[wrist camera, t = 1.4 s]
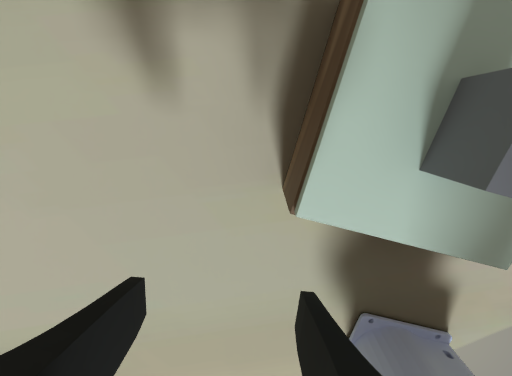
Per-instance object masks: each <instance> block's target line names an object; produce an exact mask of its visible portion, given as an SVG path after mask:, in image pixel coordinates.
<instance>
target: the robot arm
mask: <svg viewBox="0 0 512 376" xmlns="http://www.w3.org/2000/svg"><path fill="white" fill-rule="evenodd" d="M145 316H146V297H145V278H141V277H130V278H128V279H127V280H125V281H124V282H122V283H121V284H119V285H118V286H116V287H115V288H113V289H112V290H111V291H109V292H108V293H106V294H105V295H103V296H102V297H100V298H99V299H97V300H96V301H94V302H93V303H91V304H90V305H88V306H87V307H85V308H84V309H82V310H80V311H79V312H77V313H76V314H74V315H72V316H71V317H69V318H67V319H66V320H64V321H63V322H61V323H59V324H58V325H56V326H54V327H53V328H51V329H49V330H48V331H46V332H44V333H42V334H41V335H39V336H37V337H35V338H33V339H31V340H29V341H28V342H26V343H24V344H22V345H20V346H18V347H16V348H14V349H12V350H10V351H8V352H6V353H4V354H2V355H0V376H114V374H115V373H116V371H117V369H118V368H119V366H120V364H121V363H122V361H123V359H124V357H125V356H126V354H127V352H128V351H129V349H130V347H131V345H132V344H133V342H134V340H135V338H136V336H137V334H138V332H139V330H140V328H141V325H142V323H143V321H144V318H145ZM370 319H371V320H370ZM295 334H296V344H297V352H298V357H299V362H300V367H301V372H302V376H475V375H473V373H472V372H471V371H470V370H469V368H468V367H467V366H466V365H465V363H464V362H463V361H462V360H461V359H460V358H459V356H458V355H457V354H456V353H455V352H454V350H453V349H452V348H451V347H450V346H449V343H450V342H451V340H452V336H451V335H450V334H449V333H447V332H444V331H439V330H435V329H431V328H427V327H423V326H418V325H414V324H410V323H406V322H401V321H397V320H393V319H389V318H385V317H380V316H376V315H372V314H368V313H363V314H361V315H360V317H359V319H358V321H357V323H356V325H355V327H354V329H353V332H352V334H351V336H350V338H348V337H347V336H346V335H345V333H344V332H343V331H342V330H341V328H340V327H339V326H338V324H337V323H336V322H335V320H334V319H333V318H332V316H331V315H330V314H329V312H328V311H327V310H326V308H325V307H324V305H323V304H322V303H321V301H320V300H319V298H318V297H317V295H316V294H315V293H314V292H305V291H301V293H300V299H299V305H298V311H297V317H296V322H295Z"/></svg>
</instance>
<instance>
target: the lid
mask: <svg viewBox="0 0 512 376" xmlns="http://www.w3.org/2000/svg"><path fill="white" fill-rule="evenodd" d="M294 212H295V215H296V217H300V218H304V219H308V220H312V221H316V222H320V223H324V224H327V225H331V226H335V227H339V228H343V229H347V230H351V231H355V232H359V233H363V234H367V235H371V236H375V237H379V238H383V239H387V240H391V241H394V242H398V243H402V244H406V245H410V246H414V247H418V248H422V249H426V250H430V251H434V252H438V253H442V254H446V255H450V256H454V257H457V258H461V259H465V260H469V261H473V262H477V263H481V264H485V265H489V266H493V267H497V268H501V269H505V270H507V269H508V268H509V266H510V265H511V263H512V0H364V1H363V4H362V7H361V10H360V13H359V16H358V19H357V22H356V25H355V28H354V31H353V35H352V38H351V41H350V44H349V47H348V50H347V53H346V56H345V59H344V62H343V65H342V68H341V71H340V74H339V77H338V80H337V83H336V86H335V89H334V92H333V95H332V98H331V101H330V104H329V107H328V110H327V114H326V117H325V120H324V123H323V126H322V129H321V132H320V135H319V138H318V141H317V144H316V147H315V150H314V153H313V156H312V159H311V162H310V165H309V168H308V171H307V174H306V177H305V180H304V183H303V186H302V189H301V192H300V196H299V199H298V202H297V205H296V208H295V211H294Z"/></svg>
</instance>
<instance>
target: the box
mask: <svg viewBox="0 0 512 376" xmlns="http://www.w3.org/2000/svg"><path fill="white" fill-rule="evenodd" d="M363 1H364V0H340V2H339V5H338V9H337V12H336V15H335V19H334V22H333V25H332V28H331V32H330V35H329V38H328V41H327V45H326V48H325V51H324V55H323V58H322V61H321V64H320V68H319V71H318V74H317V78H316V81H315V84H314V87H313V91H312V94H311V97H310V100H309V104H308V107H307V110H306V114H305V117H304V120H303V123H302V127H301V130H300V133H299V136H298V140H297V143H296V146H295V150H294V153H293V156H292V159H291V163H290V166H289V169H288V172H287V176H286V179H285V182H284V186H283V192H284V195H285V198H286V202H287V205H288V208H289V211H290V214H294V215H295V212H294V211H295V208H296V205H297V202H298V199H299V196H300V192H301V189H302V186H303V183H304V180H305V177H306V174H307V171H308V168H309V165H310V162H311V159H312V156H313V153H314V150H315V147H316V144H317V141H318V138H319V135H320V132H321V129H322V126H323V123H324V120H325V117H326V114H327V110H328V107H329V104H330V101H331V98H332V95H333V92H334V89H335V86H336V83H337V80H338V77H339V74H340V71H341V68H342V65H343V62H344V59H345V56H346V53H347V50H348V47H349V44H350V41H351V38H352V35H353V31H354V28H355V25H356V22H357V19H358V16H359V13H360V10H361V7H362V4H363Z"/></svg>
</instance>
